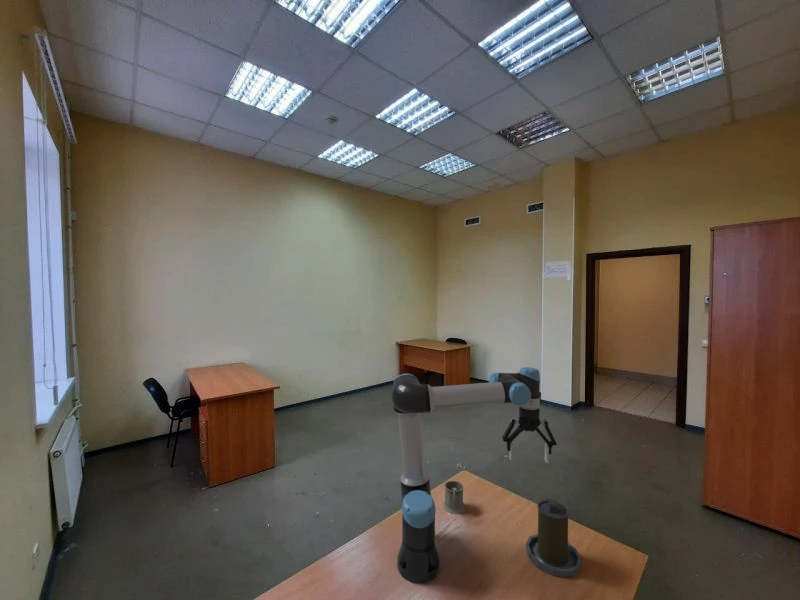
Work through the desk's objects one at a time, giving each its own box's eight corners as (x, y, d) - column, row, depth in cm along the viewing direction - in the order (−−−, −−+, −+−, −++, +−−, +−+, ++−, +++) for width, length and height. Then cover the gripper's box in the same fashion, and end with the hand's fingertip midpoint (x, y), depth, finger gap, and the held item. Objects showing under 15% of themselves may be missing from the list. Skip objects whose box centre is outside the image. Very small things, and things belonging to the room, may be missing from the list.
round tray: (534, 574, 114) (534, 568, 114) (521, 537, 132) (521, 532, 132) (589, 579, 112) (589, 573, 112) (568, 541, 129) (568, 536, 129)
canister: (572, 569, 115) (572, 512, 115) (540, 564, 117) (540, 508, 117) (563, 546, 126) (563, 494, 126) (534, 542, 128) (534, 491, 128)
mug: (443, 499, 156) (443, 474, 156) (464, 501, 155) (464, 476, 155) (442, 519, 142) (443, 491, 142) (466, 521, 141) (466, 493, 141)
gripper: (498, 408, 130) (497, 462, 129) (565, 412, 126) (565, 467, 126) (495, 402, 137) (495, 453, 137) (559, 406, 133) (558, 458, 133)
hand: (528, 460), depth 131 cm, fingers open, 13 cm apart
